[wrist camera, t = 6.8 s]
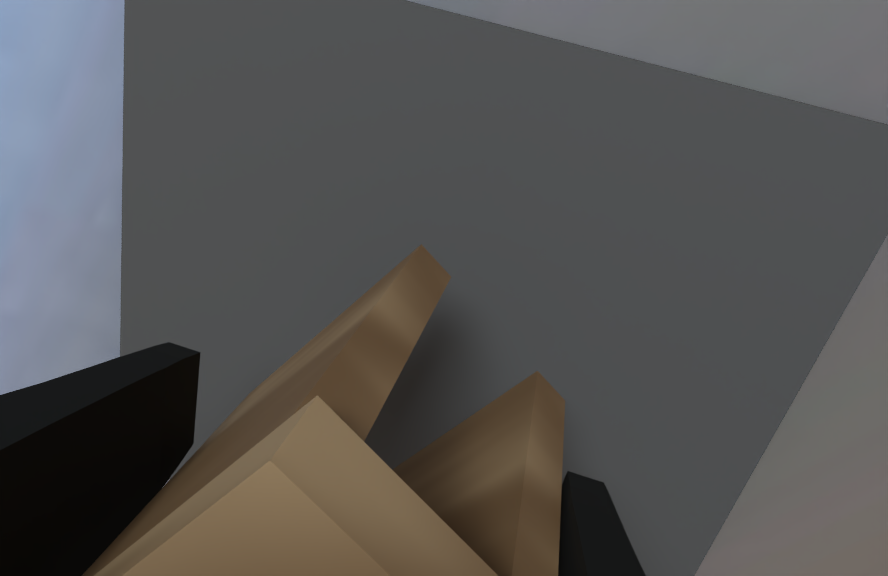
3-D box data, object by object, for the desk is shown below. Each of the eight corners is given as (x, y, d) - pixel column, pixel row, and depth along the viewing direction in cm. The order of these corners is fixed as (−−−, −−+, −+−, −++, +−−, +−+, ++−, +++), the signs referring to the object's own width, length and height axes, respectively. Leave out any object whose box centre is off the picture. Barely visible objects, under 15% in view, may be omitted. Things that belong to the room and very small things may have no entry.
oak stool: (582, 389, 12) (584, 761, 6) (367, 527, 14) (210, 891, 8) (437, 230, 11) (270, 460, 5) (238, 402, 13) (-35, 697, 7)
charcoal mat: (914, 131, 12) (941, 139, 11) (649, 615, 18) (653, 647, 17) (156, -64, 13) (125, -72, 12) (140, 441, 19) (119, 461, 18)
